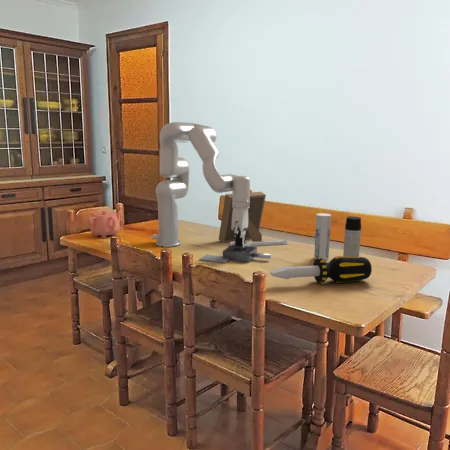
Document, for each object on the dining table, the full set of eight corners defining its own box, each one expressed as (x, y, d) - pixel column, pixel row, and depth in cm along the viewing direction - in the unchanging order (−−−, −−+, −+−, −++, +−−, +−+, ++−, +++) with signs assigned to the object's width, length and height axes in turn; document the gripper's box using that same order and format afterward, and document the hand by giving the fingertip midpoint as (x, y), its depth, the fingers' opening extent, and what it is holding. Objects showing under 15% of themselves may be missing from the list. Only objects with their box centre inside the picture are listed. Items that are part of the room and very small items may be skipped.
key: (232, 254, 208) (233, 227, 206) (235, 252, 212) (235, 226, 209) (245, 255, 206) (245, 229, 204) (247, 253, 210) (248, 227, 207)
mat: (199, 260, 204) (199, 259, 204) (206, 255, 212) (206, 254, 212) (225, 263, 200) (225, 262, 200) (231, 258, 208) (231, 257, 208)
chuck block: (222, 259, 206) (222, 250, 205) (231, 253, 217) (232, 244, 216) (266, 264, 199) (266, 255, 198) (273, 257, 210) (274, 249, 209)
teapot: (92, 232, 257) (91, 208, 254) (123, 232, 259) (123, 208, 256) (87, 239, 241) (86, 213, 239) (121, 238, 243) (120, 213, 241)
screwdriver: (275, 291, 166) (276, 264, 164) (266, 282, 176) (267, 256, 174) (374, 284, 175) (376, 258, 173) (360, 276, 185) (362, 251, 182)
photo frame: (218, 241, 240) (219, 192, 235) (253, 236, 252) (254, 190, 246) (234, 247, 228) (235, 196, 223) (269, 242, 239) (271, 194, 234)
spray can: (359, 261, 205) (362, 216, 201) (358, 265, 199) (361, 219, 195) (343, 260, 207) (346, 215, 203) (342, 264, 201) (344, 218, 197)
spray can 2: (313, 256, 213) (315, 213, 209) (327, 256, 213) (329, 213, 209) (314, 260, 207) (317, 215, 203) (329, 260, 206) (332, 216, 202)
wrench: (290, 241, 233) (233, 245, 224) (290, 245, 233) (233, 249, 224) (284, 238, 240) (228, 241, 232) (284, 241, 241) (228, 245, 232)
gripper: (238, 201, 213) (238, 240, 217) (226, 206, 198) (225, 248, 202) (254, 202, 211) (253, 242, 214) (243, 207, 196) (242, 250, 199)
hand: (240, 244), depth 208 cm, fingers closed on key, 3 cm apart
